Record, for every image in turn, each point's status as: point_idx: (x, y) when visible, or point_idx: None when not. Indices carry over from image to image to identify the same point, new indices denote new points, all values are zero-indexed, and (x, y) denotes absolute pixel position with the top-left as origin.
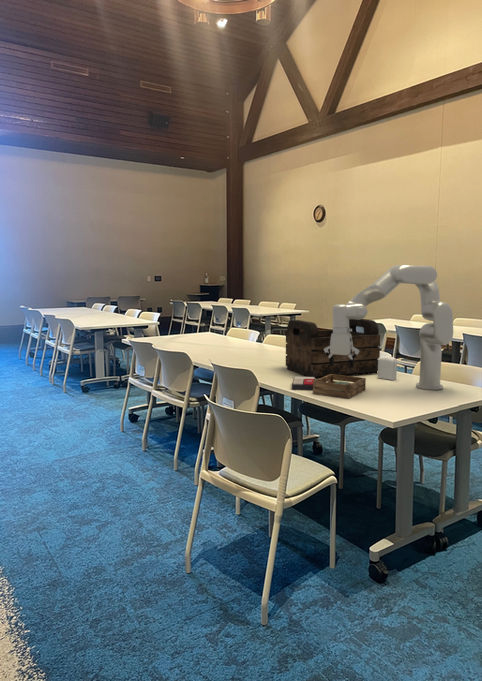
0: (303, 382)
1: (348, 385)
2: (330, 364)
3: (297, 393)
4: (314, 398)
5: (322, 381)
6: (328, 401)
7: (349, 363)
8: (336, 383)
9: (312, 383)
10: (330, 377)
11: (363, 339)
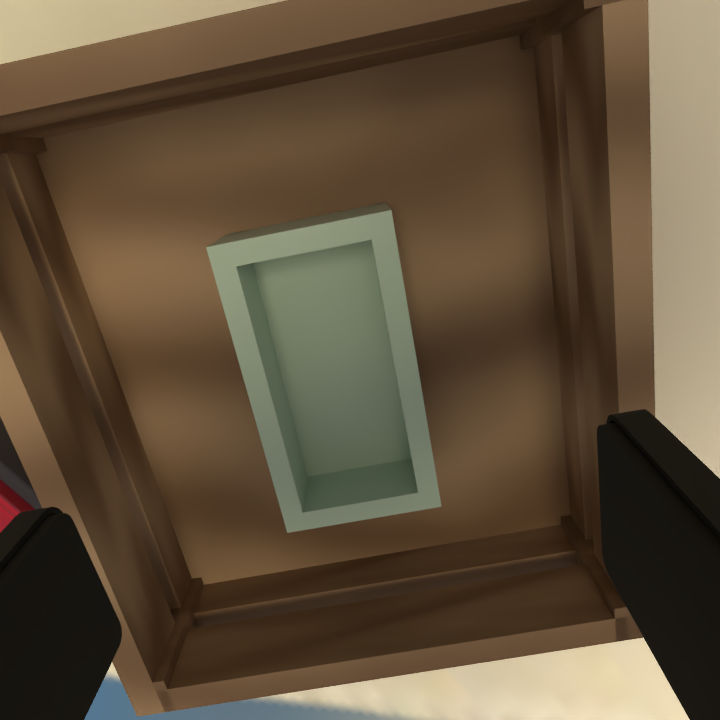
0: None
1: (639, 632)
2: (84, 689)
3: None
4: (323, 698)
5: (102, 487)
6: (477, 696)
7: (679, 677)
8: (266, 371)
9: (1, 514)
10: None
11: None
